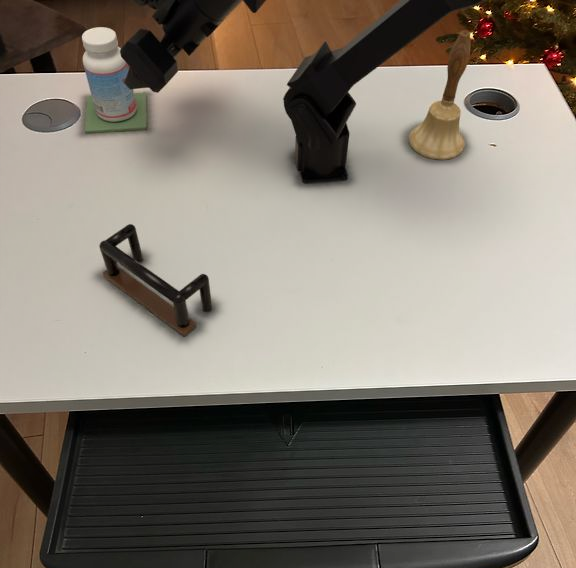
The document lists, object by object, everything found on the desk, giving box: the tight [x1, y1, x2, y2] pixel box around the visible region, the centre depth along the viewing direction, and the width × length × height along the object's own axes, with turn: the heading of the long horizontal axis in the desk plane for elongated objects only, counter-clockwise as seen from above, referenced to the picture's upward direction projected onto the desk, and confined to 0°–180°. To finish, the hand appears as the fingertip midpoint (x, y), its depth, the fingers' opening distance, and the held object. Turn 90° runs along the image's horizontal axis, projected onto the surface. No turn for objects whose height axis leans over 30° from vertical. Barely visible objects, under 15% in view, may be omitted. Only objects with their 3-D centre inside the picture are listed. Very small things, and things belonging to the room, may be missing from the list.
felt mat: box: [84, 92, 148, 134], centre depth 92 cm, size 9×9×1 cm
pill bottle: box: [81, 26, 137, 122], centre depth 87 cm, size 6×6×11 cm
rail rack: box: [98, 223, 213, 337], centre depth 70 cm, size 5×14×6 cm, turn 50°
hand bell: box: [408, 30, 471, 161], centre depth 83 cm, size 8×8×16 cm
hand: (144, 68), depth 84 cm, fingers open, 9 cm apart
